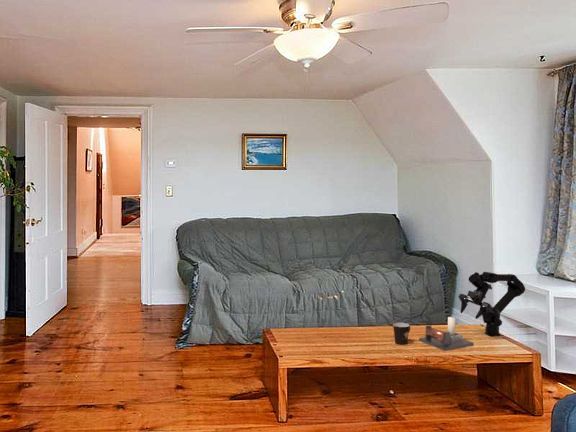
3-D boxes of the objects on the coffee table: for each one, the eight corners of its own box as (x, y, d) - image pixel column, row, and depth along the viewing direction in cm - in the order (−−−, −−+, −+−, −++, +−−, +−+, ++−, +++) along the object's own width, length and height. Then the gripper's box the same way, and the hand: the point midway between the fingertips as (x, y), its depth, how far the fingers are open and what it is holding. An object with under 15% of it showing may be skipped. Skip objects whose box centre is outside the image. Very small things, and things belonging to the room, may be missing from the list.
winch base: (446, 336, 295) (446, 321, 294) (473, 345, 277) (473, 329, 276) (418, 340, 286) (419, 325, 285) (444, 350, 268) (445, 334, 267)
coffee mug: (397, 346, 276) (397, 327, 276) (390, 341, 284) (390, 323, 284) (417, 344, 279) (417, 325, 279) (409, 339, 287) (409, 322, 287)
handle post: (451, 337, 286) (451, 316, 285) (456, 339, 282) (457, 318, 281) (446, 338, 284) (446, 317, 283) (451, 340, 280) (451, 318, 280)
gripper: (461, 280, 293) (448, 303, 290) (491, 290, 279) (478, 315, 275) (468, 289, 300) (455, 312, 296) (498, 299, 286) (485, 324, 282)
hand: (468, 315), depth 287 cm, fingers open, 9 cm apart
